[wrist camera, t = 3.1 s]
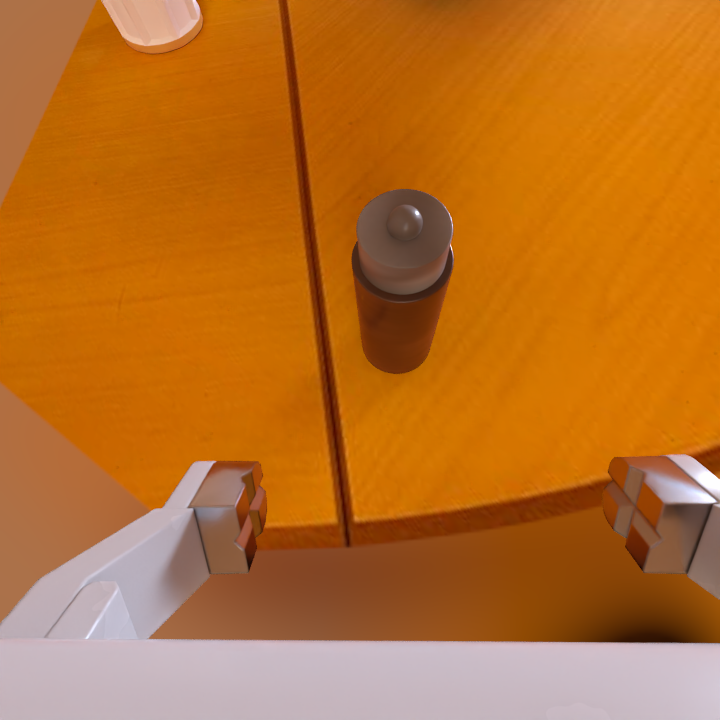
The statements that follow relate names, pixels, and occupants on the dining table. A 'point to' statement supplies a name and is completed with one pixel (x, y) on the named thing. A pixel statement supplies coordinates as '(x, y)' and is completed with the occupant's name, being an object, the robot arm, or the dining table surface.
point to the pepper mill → (401, 276)
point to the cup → (156, 23)
